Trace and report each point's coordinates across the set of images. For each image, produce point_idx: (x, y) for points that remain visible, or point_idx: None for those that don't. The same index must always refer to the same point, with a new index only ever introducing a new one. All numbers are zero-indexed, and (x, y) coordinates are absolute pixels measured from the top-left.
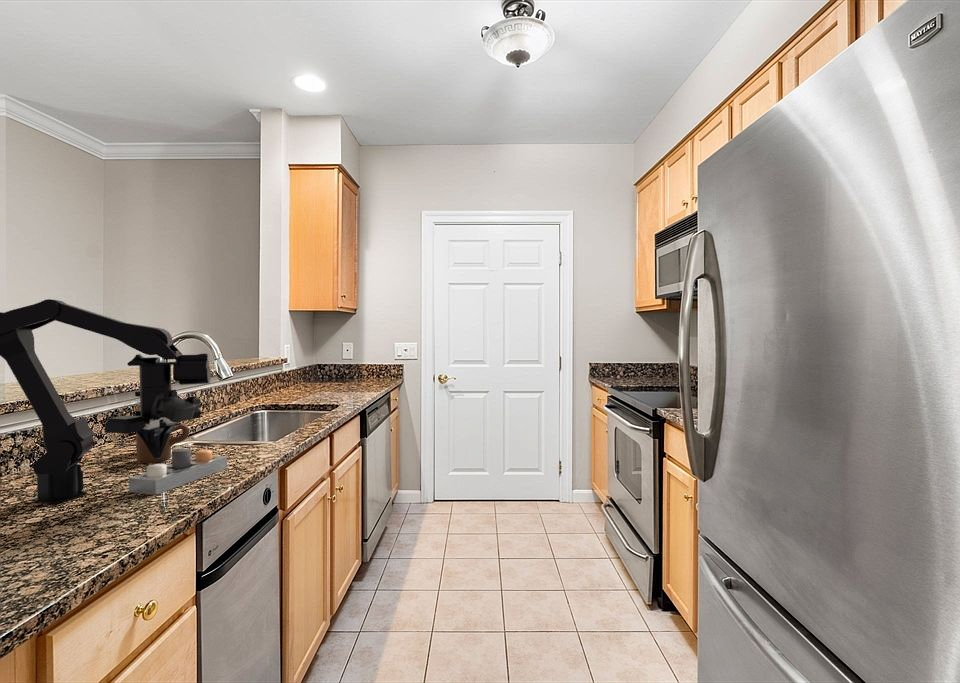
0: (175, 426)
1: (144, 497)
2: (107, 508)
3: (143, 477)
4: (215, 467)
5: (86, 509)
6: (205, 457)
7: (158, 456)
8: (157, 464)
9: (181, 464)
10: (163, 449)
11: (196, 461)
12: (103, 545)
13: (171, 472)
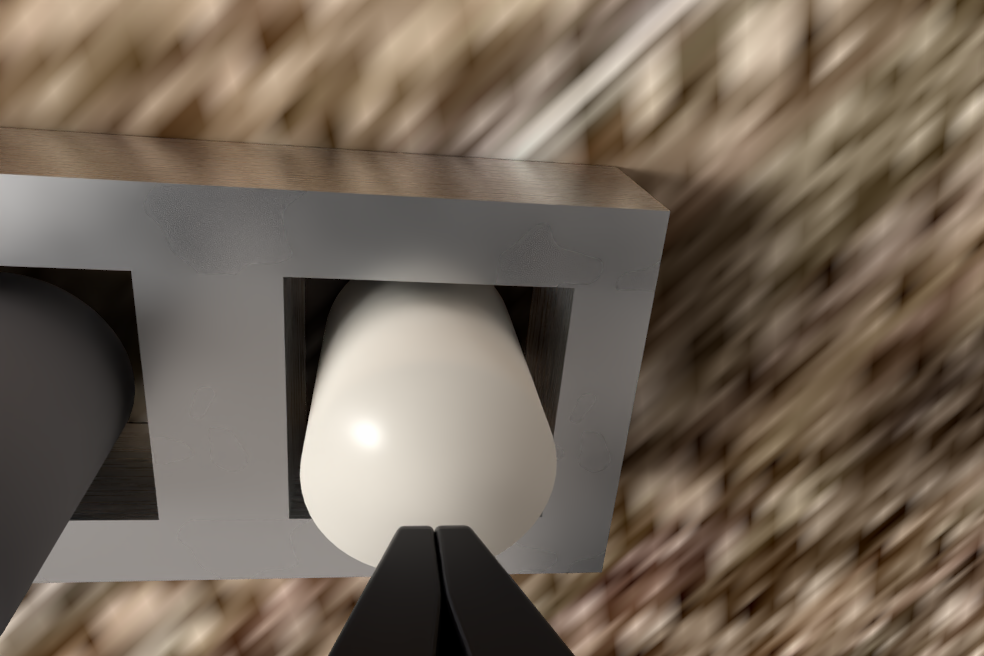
0: None
1: (696, 218)
2: (979, 292)
3: (568, 449)
4: None
5: (981, 428)
6: None
7: (458, 536)
8: (355, 526)
9: (45, 357)
10: (362, 608)
11: None
12: None
13: (283, 312)
